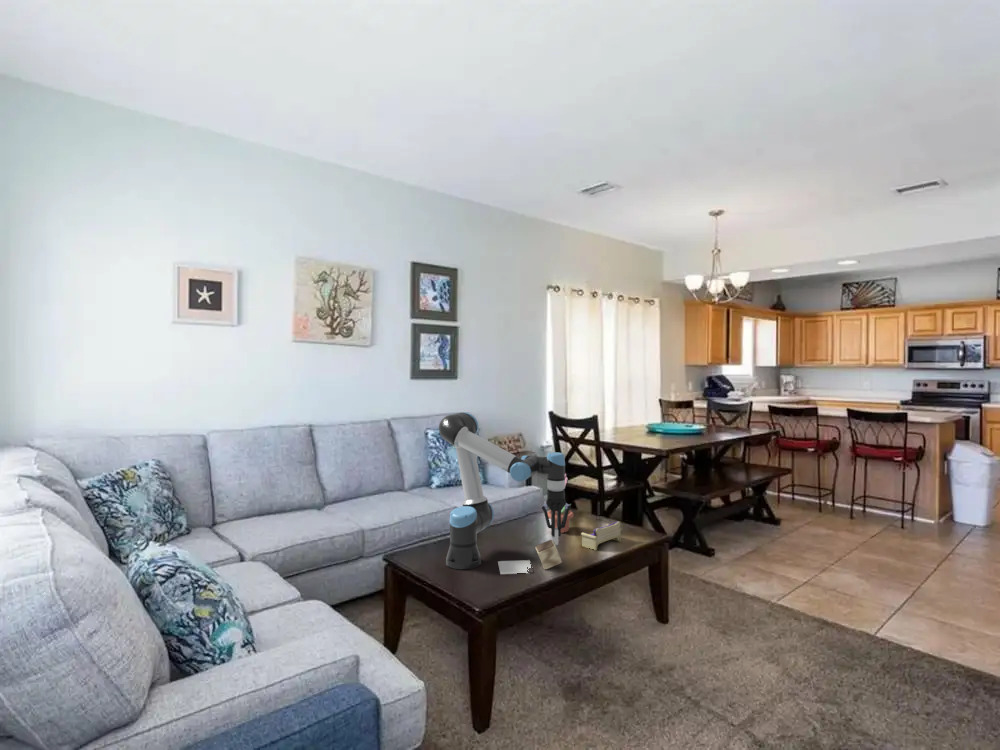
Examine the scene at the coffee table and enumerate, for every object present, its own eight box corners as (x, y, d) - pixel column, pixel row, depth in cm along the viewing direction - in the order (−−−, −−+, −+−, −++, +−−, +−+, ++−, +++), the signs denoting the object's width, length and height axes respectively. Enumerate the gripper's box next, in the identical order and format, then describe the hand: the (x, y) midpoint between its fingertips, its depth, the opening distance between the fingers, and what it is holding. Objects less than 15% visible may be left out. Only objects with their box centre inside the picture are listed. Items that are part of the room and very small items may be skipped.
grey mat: (500, 574, 231) (500, 573, 231) (497, 561, 245) (497, 561, 245) (534, 573, 232) (534, 572, 232) (529, 560, 246) (529, 560, 246)
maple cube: (544, 570, 235) (537, 552, 235) (541, 563, 243) (534, 546, 243) (562, 562, 236) (554, 544, 235) (558, 555, 244) (551, 538, 243)
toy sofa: (607, 537, 279) (607, 516, 278) (621, 541, 272) (621, 520, 272) (580, 547, 264) (580, 525, 264) (595, 551, 258) (595, 529, 258)
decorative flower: (539, 529, 290) (539, 472, 289) (559, 524, 299) (559, 468, 298) (559, 536, 278) (559, 477, 277) (579, 531, 287) (579, 473, 286)
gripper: (569, 486, 243) (569, 540, 244) (539, 487, 242) (539, 541, 243) (572, 490, 236) (572, 546, 236) (542, 491, 234) (542, 547, 235)
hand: (556, 543), depth 240 cm, fingers closed
